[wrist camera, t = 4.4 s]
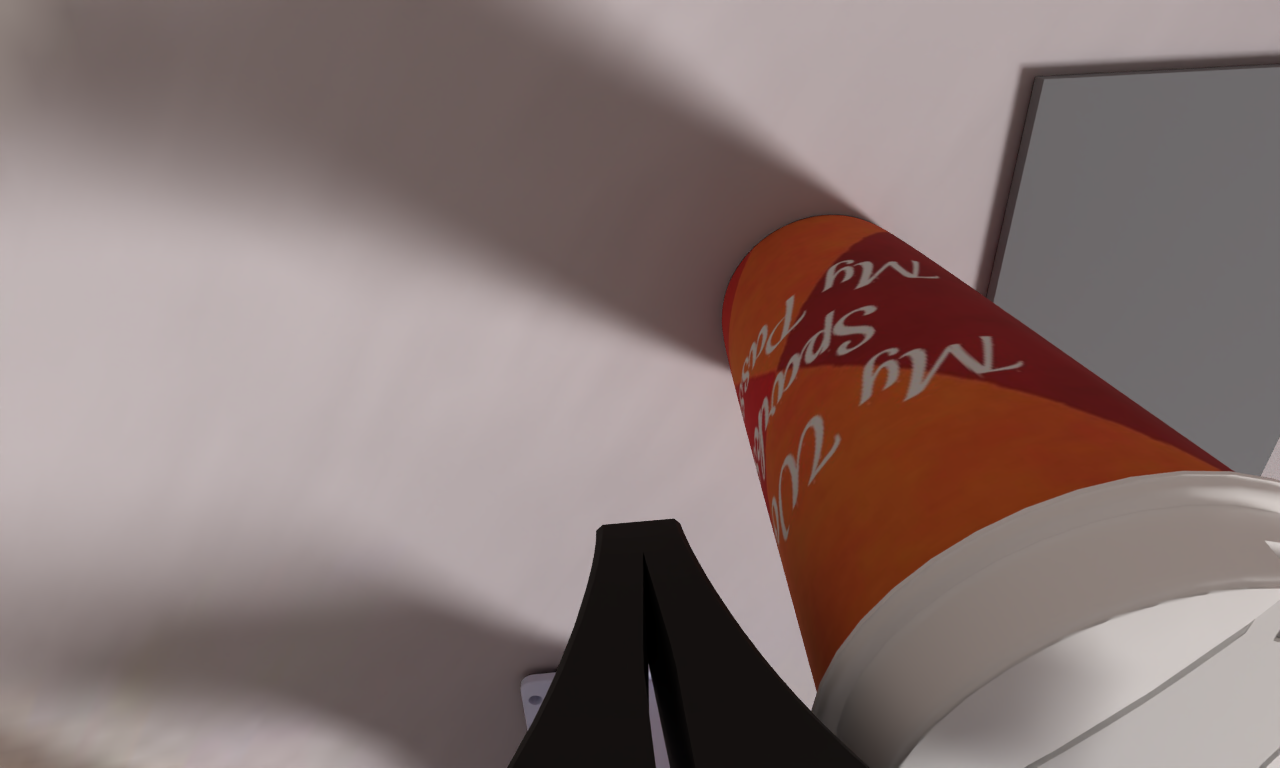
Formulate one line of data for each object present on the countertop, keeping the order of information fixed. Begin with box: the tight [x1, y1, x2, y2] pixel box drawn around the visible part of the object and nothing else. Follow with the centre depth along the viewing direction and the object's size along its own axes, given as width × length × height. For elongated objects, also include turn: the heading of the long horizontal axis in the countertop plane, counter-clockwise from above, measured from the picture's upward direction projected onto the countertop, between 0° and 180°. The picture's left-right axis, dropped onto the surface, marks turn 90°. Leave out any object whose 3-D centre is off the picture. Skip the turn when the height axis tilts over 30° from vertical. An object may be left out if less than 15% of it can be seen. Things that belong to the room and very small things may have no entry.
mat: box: [986, 64, 1280, 476], centre depth 23 cm, size 16×11×1 cm
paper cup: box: [722, 215, 1280, 768], centre depth 15 cm, size 8×8×14 cm
